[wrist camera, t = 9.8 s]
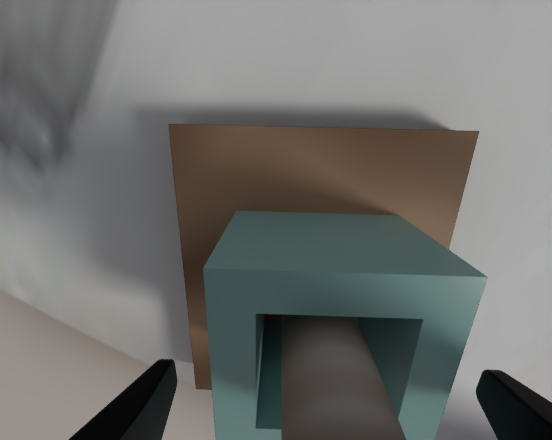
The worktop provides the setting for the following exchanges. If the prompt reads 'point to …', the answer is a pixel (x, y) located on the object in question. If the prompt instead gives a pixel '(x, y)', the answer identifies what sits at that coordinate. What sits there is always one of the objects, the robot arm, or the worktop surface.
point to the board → (314, 199)
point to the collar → (335, 310)
